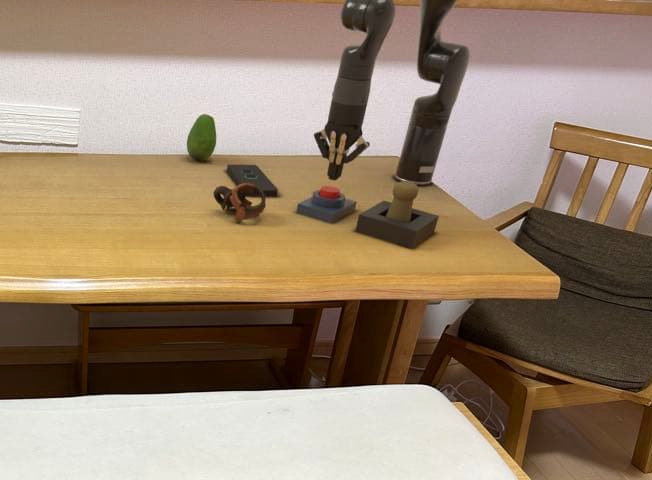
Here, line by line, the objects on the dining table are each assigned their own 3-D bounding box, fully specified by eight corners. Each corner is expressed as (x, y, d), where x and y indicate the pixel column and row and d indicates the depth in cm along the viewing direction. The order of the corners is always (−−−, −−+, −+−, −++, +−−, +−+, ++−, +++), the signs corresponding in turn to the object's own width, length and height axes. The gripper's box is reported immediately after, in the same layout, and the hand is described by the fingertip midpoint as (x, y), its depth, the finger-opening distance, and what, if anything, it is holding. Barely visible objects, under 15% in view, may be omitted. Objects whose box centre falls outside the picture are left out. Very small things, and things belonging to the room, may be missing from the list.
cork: (409, 238, 164) (423, 189, 158) (381, 235, 165) (394, 185, 159) (406, 228, 169) (420, 180, 163) (379, 225, 170) (391, 177, 163)
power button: (324, 191, 176) (326, 184, 175) (341, 196, 174) (343, 189, 173) (315, 196, 173) (317, 188, 172) (333, 201, 171) (334, 193, 170)
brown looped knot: (261, 211, 174) (273, 187, 167) (251, 241, 170) (263, 218, 163) (212, 192, 174) (223, 167, 167) (201, 221, 170) (212, 197, 162)
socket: (379, 217, 174) (383, 200, 172) (433, 232, 168) (439, 215, 166) (354, 231, 166) (359, 214, 164) (411, 248, 159) (416, 230, 157)
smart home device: (256, 164, 197) (279, 190, 181) (255, 170, 198) (278, 197, 182) (226, 163, 196) (246, 189, 180) (225, 170, 197) (245, 196, 181)
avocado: (215, 165, 200) (220, 118, 193) (185, 163, 200) (190, 116, 193) (212, 156, 207) (218, 111, 200) (184, 154, 207) (188, 109, 200)
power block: (320, 200, 182) (323, 184, 179) (354, 210, 177) (358, 194, 175) (296, 212, 174) (299, 195, 171) (331, 223, 169) (335, 206, 167)
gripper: (386, 102, 160) (367, 182, 170) (330, 91, 167) (314, 168, 177) (371, 108, 155) (352, 190, 165) (314, 96, 162) (299, 175, 172)
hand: (333, 179), depth 171 cm, fingers closed
